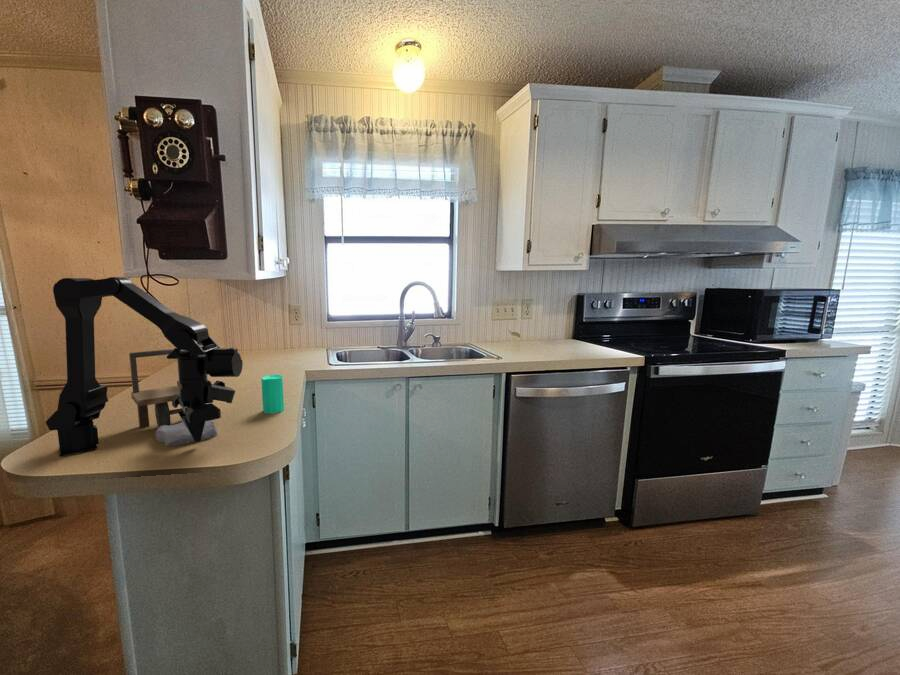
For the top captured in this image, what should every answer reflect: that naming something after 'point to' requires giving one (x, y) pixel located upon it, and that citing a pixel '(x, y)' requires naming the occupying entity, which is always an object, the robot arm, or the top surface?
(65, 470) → the top surface
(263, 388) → the candle
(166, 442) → the stone block
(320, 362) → the top surface
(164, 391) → the wooden chair
